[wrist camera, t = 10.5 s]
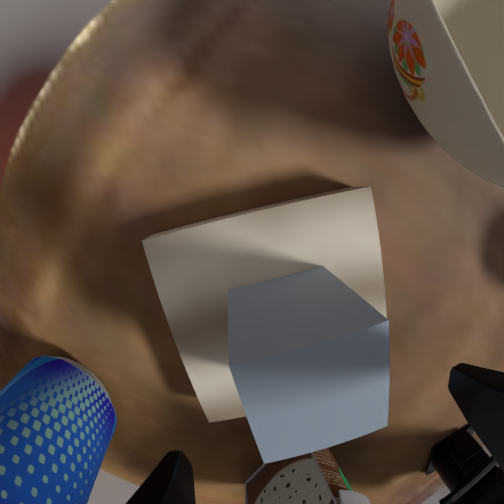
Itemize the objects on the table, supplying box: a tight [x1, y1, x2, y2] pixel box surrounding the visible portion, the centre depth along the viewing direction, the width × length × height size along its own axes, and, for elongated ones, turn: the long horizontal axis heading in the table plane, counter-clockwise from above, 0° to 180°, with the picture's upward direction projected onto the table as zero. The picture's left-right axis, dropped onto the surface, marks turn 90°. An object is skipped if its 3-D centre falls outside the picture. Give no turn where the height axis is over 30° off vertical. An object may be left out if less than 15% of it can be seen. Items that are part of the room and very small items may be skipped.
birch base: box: [142, 186, 387, 423], centre depth 17 cm, size 12×12×2 cm
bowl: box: [388, 0, 504, 187], centre depth 11 cm, size 16×16×10 cm
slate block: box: [228, 266, 390, 464], centre depth 12 cm, size 5×5×7 cm
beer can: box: [0, 356, 117, 504], centre depth 11 cm, size 8×8×16 cm
